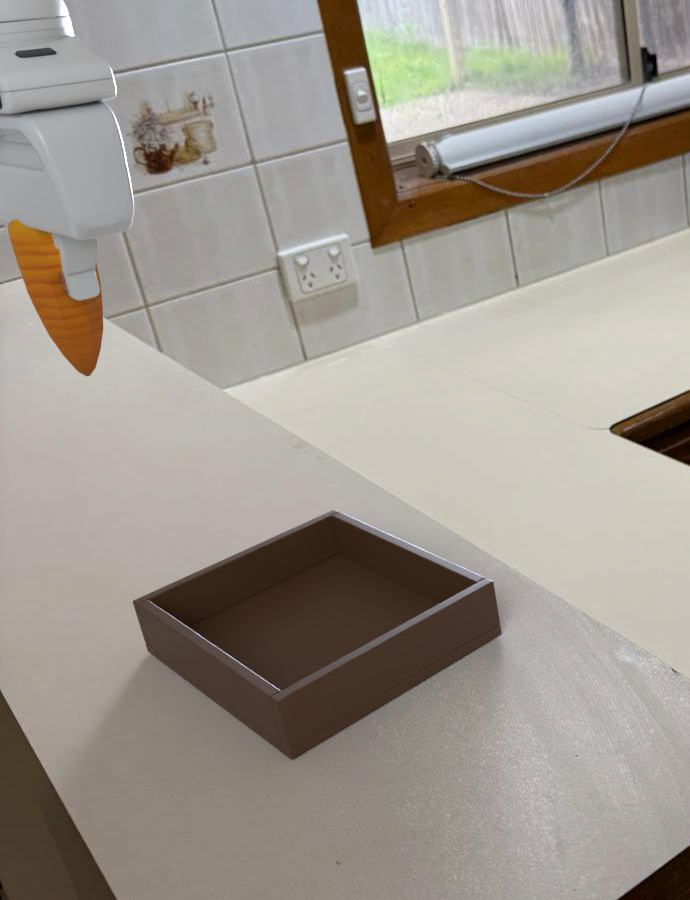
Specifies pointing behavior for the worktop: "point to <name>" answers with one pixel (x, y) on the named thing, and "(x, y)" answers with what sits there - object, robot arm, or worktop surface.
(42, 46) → the robot arm
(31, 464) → the worktop surface
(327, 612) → the tray
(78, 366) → the carrot
